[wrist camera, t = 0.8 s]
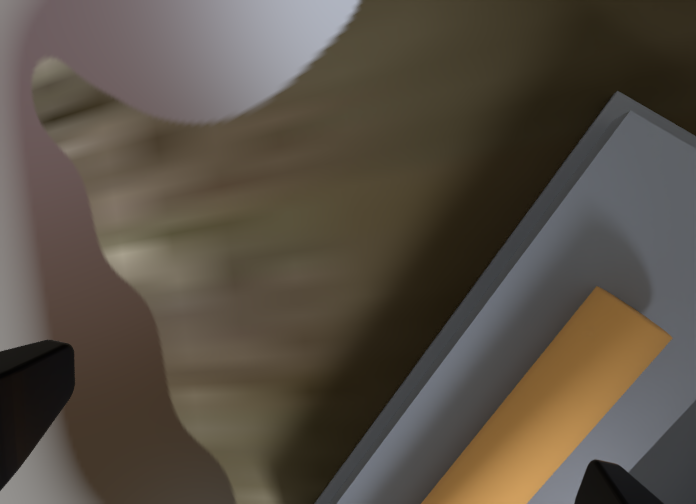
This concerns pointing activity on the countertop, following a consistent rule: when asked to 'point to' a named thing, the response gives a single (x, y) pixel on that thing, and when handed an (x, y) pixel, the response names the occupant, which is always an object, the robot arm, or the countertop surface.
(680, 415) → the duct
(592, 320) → the tan cylindrical rod
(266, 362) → the countertop surface
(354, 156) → the countertop surface
